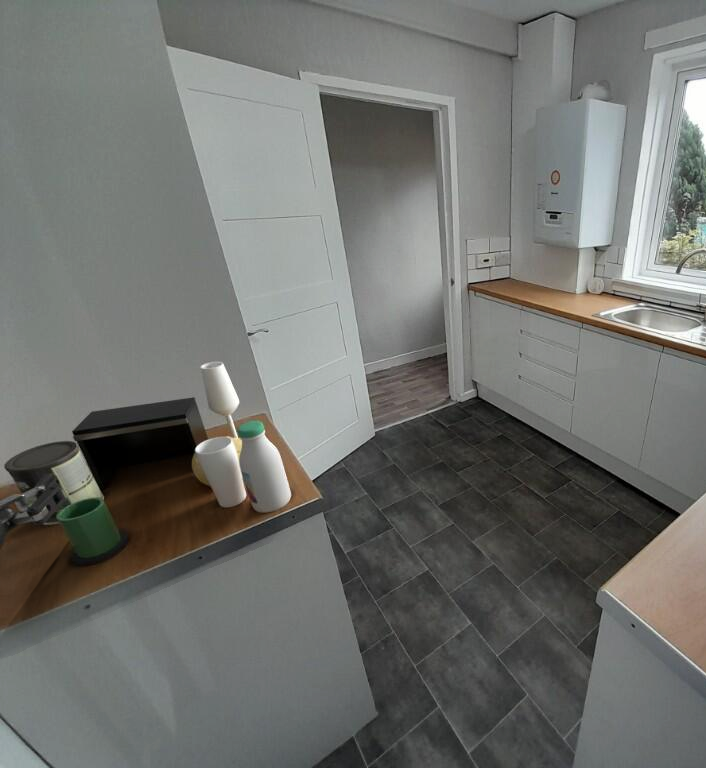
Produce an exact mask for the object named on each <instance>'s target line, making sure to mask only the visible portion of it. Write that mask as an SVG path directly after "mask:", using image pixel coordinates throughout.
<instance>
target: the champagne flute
mask: <svg viewBox="0 0 706 768" xmlns="http://www.w3.org/2000/svg"><path fill="white" fill-rule="evenodd" d="M199 368H200V371H201V378H202V382H203V386H204V391H205V395H206V401H207V404H208V405H207V406H208V408H209V410H210V411H211V412H213V413H215V414H217V415H220V416H222V417H223V416H224V417H225V419H226V421H227V422H226V423H227V425H228V428H229V431H230V434H231V437H232V438H239V435H238V432H237V431H236V427H235V423H234V421H233V418H232V414H233V413H234V412H235V411H236V410H237V409H238V407H239V406H240V405H239V404H240V399H239V396H238V394H237V391H236V389H235V387H234V385H233V383H232V381H231V378H230V375H229V374H228V371H227V369H226V366H225V365H224V362H223V361H211V362H206V363H203V364H202V365H200V367H199Z"/></svg>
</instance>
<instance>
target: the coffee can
mask: <svg viewBox="0 0 706 768" xmlns="http://www.w3.org/2000/svg"><path fill="white" fill-rule="evenodd" d="M3 467H4V469H5V471H7V473H9V475H10V477H11V478H12V480H13V482H14V483H15V485H16V486H17V488H18V489H19V491H20V493H21V494H23V493H25V492H27V491H29V490H31V489H33V488H34V486H35V485H36V484H37V483H38V482H39V481H40V480H41V479H42V478H43V476H44V475H45V474H50V473H53V474H54V475H55V476H57V478H58V479H59V481H60V484H61V485H60V486H59V487H60V488H61V490H62V492H63V494H64V496H65V498H66V500H65V501H64V502H63V503H62V504H61V506H60V507H59V508H58V509H57V510H56V511H55V512H54V514H53V515H52V516H51V517H50V518H49V519H48V520H47V522H45V523H44V524H42V525H43V526H57V525H60V524H59V522H58V520H57V517H56V516H57V514H58V513H59V512H60V511H61V510H62V509H64V508H65V507H66V506H68V505H70V504H72V503H75V502H77V501H80V500H83V499H88V498H97V497H99V498H102V499H103V500H104V501H105V499H104V498H105V495H104V493H102V491H100V489H99V487H98V485H97V483H96V481H95V478H94V476H93V474H92V472H91V470H90V468H89V466H88V464H87V462H86V460H85V458H84V456H83V454H82V452H81V449H80V447H79V445H78V443H77V442H76V441H72V440H71V441H70V440H62V441H54V442H53V441H52V442H48V443H44V444H40V445H37V446H34V447H31V448H29V449H26V450H23V451H21V452H19V453H17V454H16V455H14V456H12V457H11V458H9V459H8V460H7V461H6V462H5V463H4V465H3ZM36 500H37V498H36V496H33V497H31V498H29V499H28V502H29V504H31V503H33V502H35V501H36Z"/></svg>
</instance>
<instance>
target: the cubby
mask: <svg viewBox="0 0 706 768" xmlns="http://www.w3.org/2000/svg"><path fill="white" fill-rule="evenodd" d="M71 433H72V435H73V436H72V439H73V440H74V442H76V443H77V444H78V446H79V450H80V452H81V454H82V456H83V458H84V460H85V462H86V464H87V466H88V468H89V470H90V472H91V473H92V476H93V477H94V479H95V481H96V483H97V485H98V487H99V489H100V491H101V492H102V491H106V490H107V489H108V487H109V486H110V484H111V483H112V481H113V480H114V478H115V476H116V475H117V473H118V471H119V470H120V469H121V468H127V467H132V466H137V465H142V464H147V463H153V462H159V461H163V460H168V459H169V460H170V459H174V458H178V457H183V456H187V455H188V456H189V455H194V454H195V448H196V447H197V446H198V445H199V444H200V443H202V442H204V441H206V440H209V437H208V434H207V431H206V428H205V425H204V422H203V419H202V416H201V413H200V410H199V407H198V403H197V401H196V398H195V396H193V397H186V398H180V399H173V400H165V401H157V402H150V403H144V404H137V405H130V406H122V407H115V408H107V409H100V410H94V411H91V412H90V413H88V415H86V416H85V417H84V418H83V419H82V420H81V422H80V423H79V424H78V425H76V427H74V429H73V430H72V431H71Z"/></svg>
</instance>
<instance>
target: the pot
mask: <svg viewBox="0 0 706 768" xmlns="http://www.w3.org/2000/svg"><path fill="white" fill-rule="evenodd" d="M56 517H57V520H58V522H59V524H58V525H59V526H60V528H61V529H62V531H63V533H64V535H65V537H66V538H67V540H68V542H69V544H70V546H71V547H72V549H73V550H74V551H75V553H76V554H77V556H78V557H80V558H91V557H95V556H98V555H101V554H103V553H105V552H107V551H109V550H111V549H112V548H114V547H115V546H116V545H117V544H118V543H119V542H120V540H121V535H120V533H119V531H118V530H119V528H118V527H117V525H116V522H115V520H114V519H113V516H112V514H111V511H110V510H109V508H108V506H107V504H106V502H105V499H104V500H103V499H102V498H99V497H97V498H88V499H83V500H80V501H77V502H75V503H72V504H70V505H68V506H66V507H65V508H64V509H62V510H61V511H60V512H59V513H58V514H57V516H56Z"/></svg>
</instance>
